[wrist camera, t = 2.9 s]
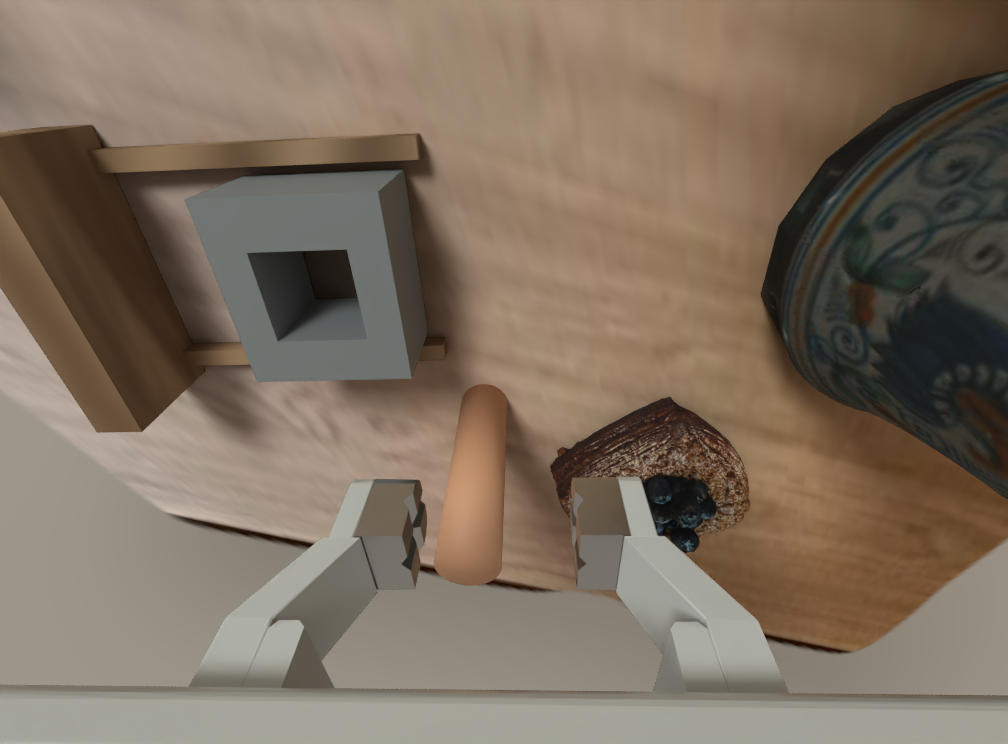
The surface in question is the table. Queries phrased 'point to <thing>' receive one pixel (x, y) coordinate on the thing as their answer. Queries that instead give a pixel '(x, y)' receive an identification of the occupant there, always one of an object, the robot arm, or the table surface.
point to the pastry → (665, 470)
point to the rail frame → (124, 261)
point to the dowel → (475, 491)
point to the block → (285, 281)
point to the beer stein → (909, 274)
